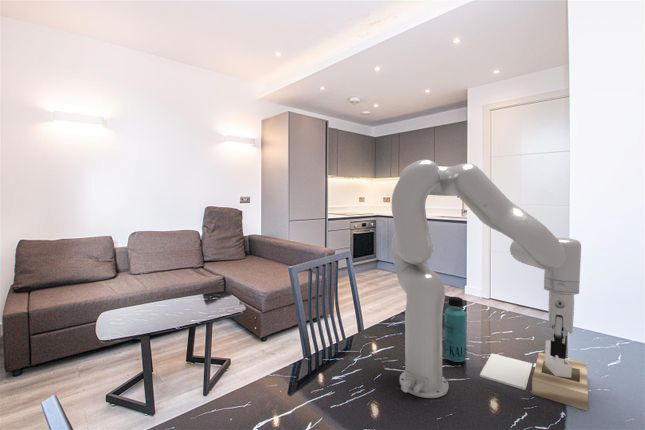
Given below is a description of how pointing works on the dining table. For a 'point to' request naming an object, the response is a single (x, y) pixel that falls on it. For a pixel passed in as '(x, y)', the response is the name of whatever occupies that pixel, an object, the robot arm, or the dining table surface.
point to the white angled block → (556, 363)
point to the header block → (561, 384)
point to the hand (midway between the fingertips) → (558, 352)
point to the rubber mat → (507, 371)
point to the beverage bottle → (455, 331)
